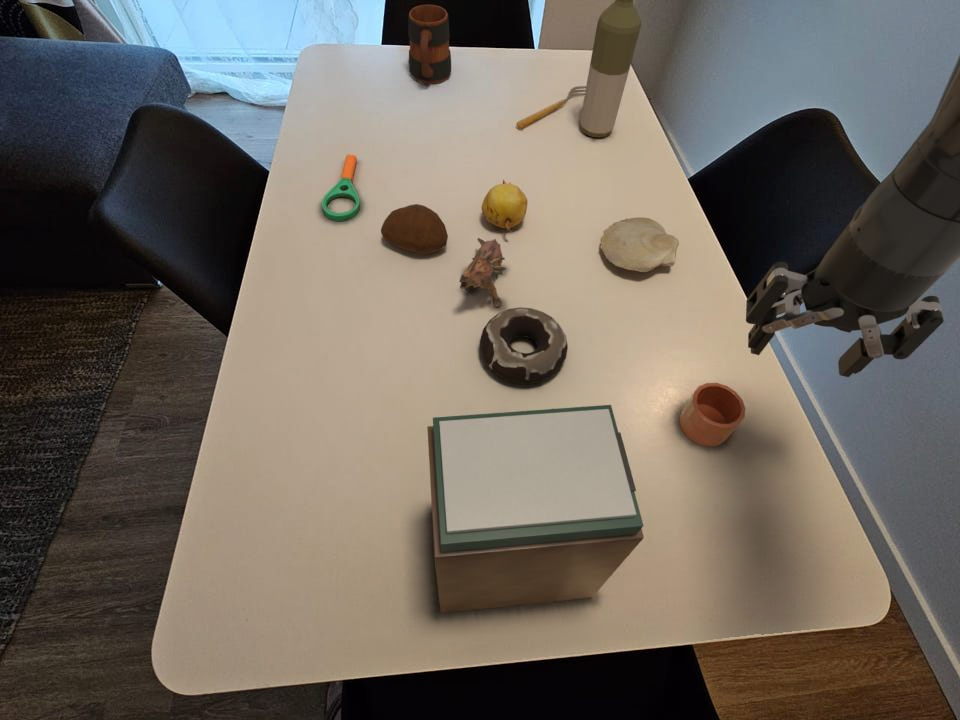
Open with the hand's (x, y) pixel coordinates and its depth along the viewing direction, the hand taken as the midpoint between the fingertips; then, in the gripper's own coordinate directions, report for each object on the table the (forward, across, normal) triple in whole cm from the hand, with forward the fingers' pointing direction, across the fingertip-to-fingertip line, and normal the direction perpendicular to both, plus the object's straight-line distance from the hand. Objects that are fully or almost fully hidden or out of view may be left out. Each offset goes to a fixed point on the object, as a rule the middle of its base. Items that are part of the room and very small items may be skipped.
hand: (798, 358), depth 57 cm
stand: (+18, -23, -22) cm, 36 cm away
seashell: (+18, -15, +29) cm, 37 cm away
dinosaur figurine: (+18, -36, +16) cm, 43 cm away
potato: (+18, -49, +20) cm, 56 cm away
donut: (+18, -28, +5) cm, 33 cm away
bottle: (+18, -27, +60) cm, 68 cm away
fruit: (+18, -37, +30) cm, 51 cm away
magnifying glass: (+18, -64, +28) cm, 73 cm away
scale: (-2, -23, -22) cm, 31 cm away
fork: (+18, -36, +64) cm, 75 cm away
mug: (+18, -63, +66) cm, 93 cm away
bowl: (+18, -3, +1) cm, 18 cm away
